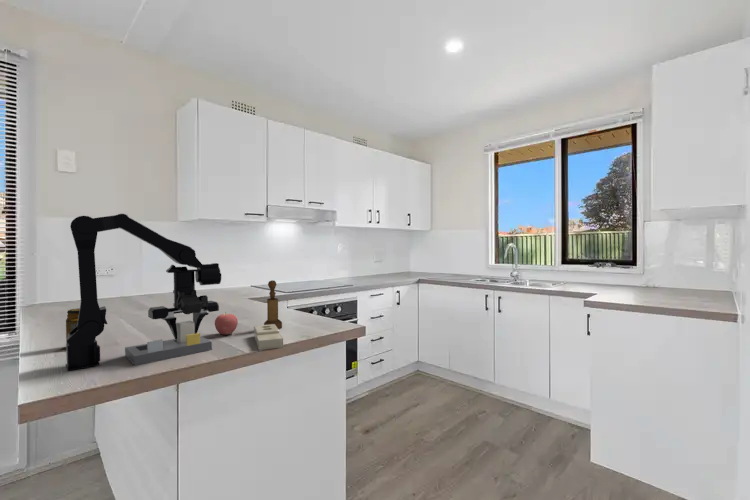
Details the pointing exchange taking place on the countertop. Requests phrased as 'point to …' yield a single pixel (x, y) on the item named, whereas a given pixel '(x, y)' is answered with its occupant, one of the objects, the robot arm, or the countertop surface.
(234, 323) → the apple
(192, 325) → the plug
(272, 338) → the electrical outlet
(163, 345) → the socket plate
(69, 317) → the condiment
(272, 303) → the wooden pepper mill
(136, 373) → the countertop surface
